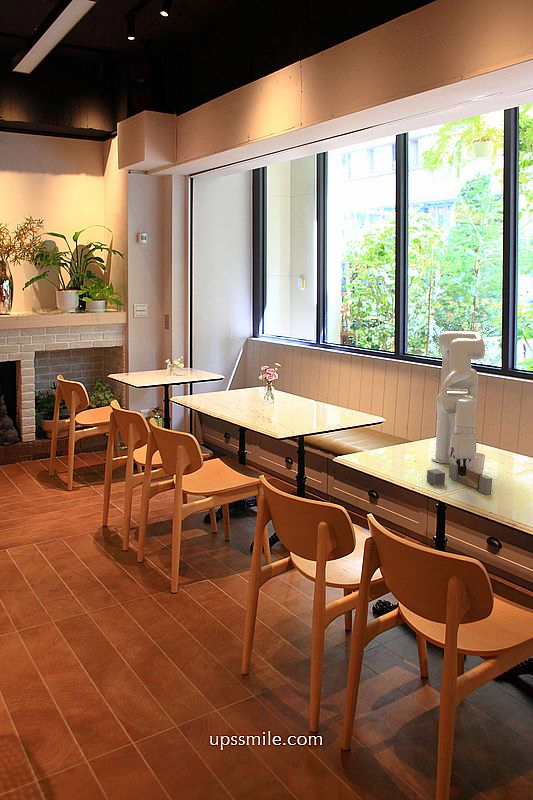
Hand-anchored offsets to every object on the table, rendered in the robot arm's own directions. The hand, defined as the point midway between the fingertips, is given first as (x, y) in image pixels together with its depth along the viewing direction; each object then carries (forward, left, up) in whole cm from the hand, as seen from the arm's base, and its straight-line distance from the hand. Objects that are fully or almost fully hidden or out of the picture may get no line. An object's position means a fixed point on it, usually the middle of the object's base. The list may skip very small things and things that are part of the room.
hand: (461, 475), depth 297 cm
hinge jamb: (-6, +8, -6) cm, 11 cm away
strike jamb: (-6, -12, -6) cm, 15 cm away
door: (-6, -2, -5) cm, 8 cm away
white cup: (-14, -11, -6) cm, 19 cm away
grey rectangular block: (+5, -10, -6) cm, 13 cm away
